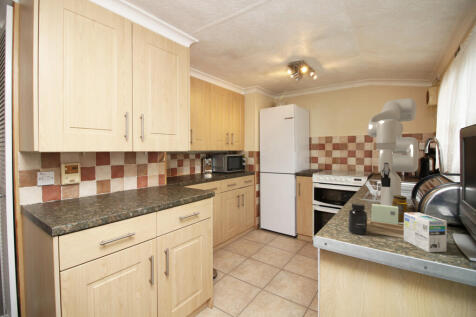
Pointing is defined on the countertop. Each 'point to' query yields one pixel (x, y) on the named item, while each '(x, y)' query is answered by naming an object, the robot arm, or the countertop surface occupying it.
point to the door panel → (384, 214)
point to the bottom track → (385, 228)
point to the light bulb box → (425, 232)
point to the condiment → (400, 206)
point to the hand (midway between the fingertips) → (385, 185)
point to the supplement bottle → (357, 219)
